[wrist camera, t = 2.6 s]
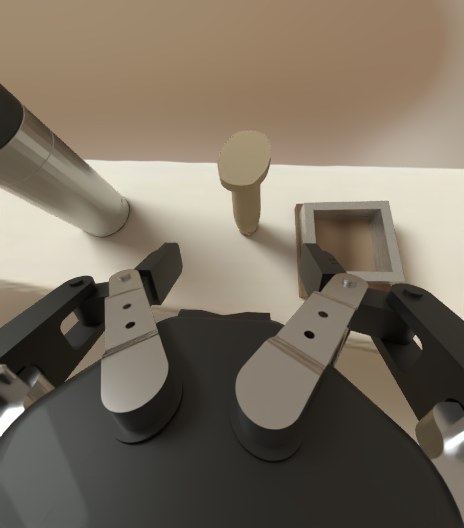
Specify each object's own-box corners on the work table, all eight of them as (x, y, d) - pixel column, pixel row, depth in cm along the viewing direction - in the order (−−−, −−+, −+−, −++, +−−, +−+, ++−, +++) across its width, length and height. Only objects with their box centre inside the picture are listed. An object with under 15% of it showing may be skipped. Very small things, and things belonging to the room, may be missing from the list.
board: (299, 296, 28) (301, 295, 27) (294, 208, 32) (296, 203, 31) (385, 299, 27) (393, 298, 25) (369, 207, 31) (375, 202, 29)
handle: (266, 214, 32) (277, 134, 18) (256, 248, 31) (260, 189, 17) (239, 208, 33) (230, 127, 19) (228, 241, 32) (209, 180, 17)
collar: (303, 283, 27) (309, 279, 24) (299, 213, 30) (304, 202, 27) (388, 285, 26) (405, 281, 23) (375, 212, 29) (388, 201, 26)
